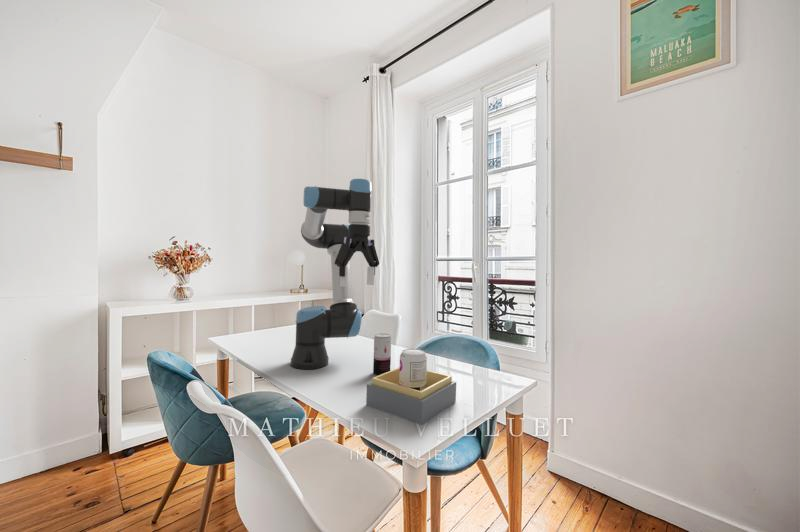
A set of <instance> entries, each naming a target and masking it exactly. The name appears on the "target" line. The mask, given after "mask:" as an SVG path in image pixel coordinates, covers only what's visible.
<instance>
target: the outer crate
mask: <svg viewBox="0 0 800 532" xmlns="http://www.w3.org/2000/svg"><path fill="white" fill-rule="evenodd" d="M365 397H366V398H365V399H366V401H365V403H366V406H368V407H371V408H373V409H377V410H379V411H383V412H385V413H386V414H387V413H388V414H390V415H394V416H396V417H399V418H400V419H401V418H402V419H404V420H408V421H409V422H412V423H416V424H417V425H424V424H425V423H427V422H428V421H430V420H431V419H432V418H434V417H435V416H437V415H438V414H440V413H442V412H443V411H444V410H446V409H447V408H448V407H450V406H452V405H454V404H455V403H456V401H457V381H456V380H455V381H453V380H452V383H450V384H449V385H447V386H445V387H443V388H441V389H440V390H438V391H436V392H434V393H433V394H431V395H429V396H427V397H426V398H424V399H422V400H421V399H417V398H414V397H411V396H408V395H404V394H401V393H398V392H395V391H391V390H388V389H385V388H382V387H378V386H375V385H372V381H371V382H369V383H366V396H365Z"/></svg>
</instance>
